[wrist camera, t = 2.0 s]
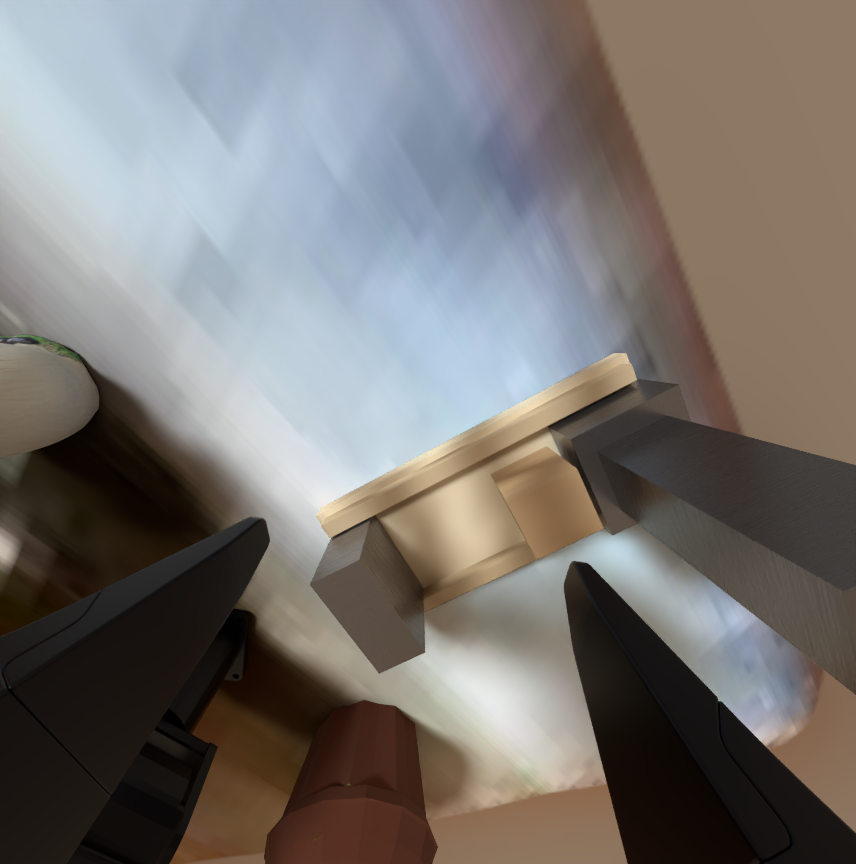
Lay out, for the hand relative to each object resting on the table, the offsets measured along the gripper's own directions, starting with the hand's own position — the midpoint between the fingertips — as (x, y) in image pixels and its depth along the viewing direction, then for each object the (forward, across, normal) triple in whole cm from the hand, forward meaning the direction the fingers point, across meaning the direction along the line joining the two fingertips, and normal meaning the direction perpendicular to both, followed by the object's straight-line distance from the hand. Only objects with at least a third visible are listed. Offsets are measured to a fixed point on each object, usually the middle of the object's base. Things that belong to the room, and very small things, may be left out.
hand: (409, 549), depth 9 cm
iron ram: (+12, -11, +2) cm, 16 cm away
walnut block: (+11, -6, +5) cm, 14 cm away
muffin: (+6, +5, +30) cm, 31 cm away
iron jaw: (+9, +4, +10) cm, 14 cm away
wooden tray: (+12, -4, +6) cm, 14 cm away
